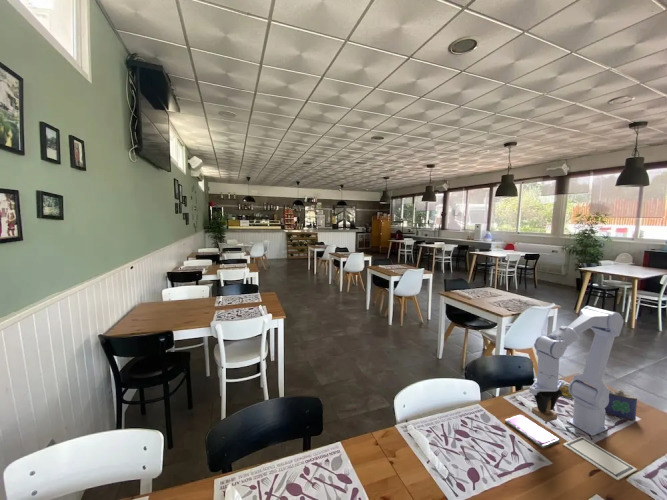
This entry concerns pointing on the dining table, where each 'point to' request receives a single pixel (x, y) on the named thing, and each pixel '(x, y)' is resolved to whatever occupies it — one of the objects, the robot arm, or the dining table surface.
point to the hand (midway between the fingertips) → (545, 409)
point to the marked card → (600, 458)
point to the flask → (621, 405)
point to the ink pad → (532, 431)
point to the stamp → (547, 415)
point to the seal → (565, 392)
